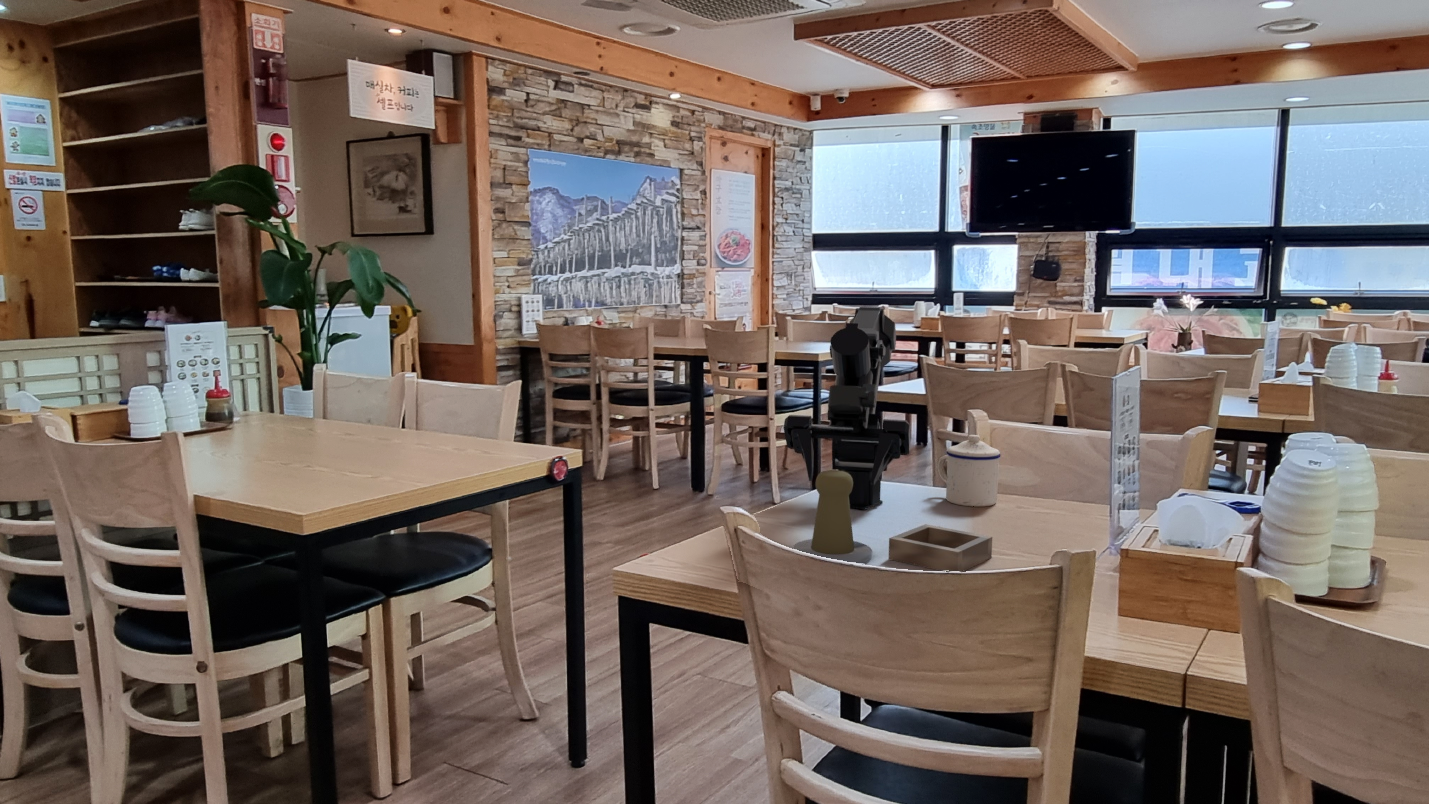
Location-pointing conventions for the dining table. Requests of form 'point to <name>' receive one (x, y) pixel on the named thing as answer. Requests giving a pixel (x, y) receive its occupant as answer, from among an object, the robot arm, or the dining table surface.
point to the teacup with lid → (971, 473)
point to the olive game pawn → (833, 514)
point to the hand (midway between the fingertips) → (841, 481)
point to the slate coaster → (859, 554)
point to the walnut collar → (940, 548)
